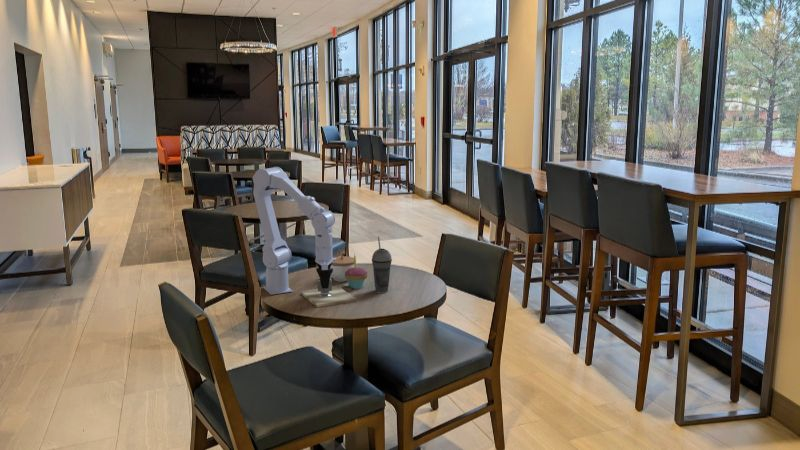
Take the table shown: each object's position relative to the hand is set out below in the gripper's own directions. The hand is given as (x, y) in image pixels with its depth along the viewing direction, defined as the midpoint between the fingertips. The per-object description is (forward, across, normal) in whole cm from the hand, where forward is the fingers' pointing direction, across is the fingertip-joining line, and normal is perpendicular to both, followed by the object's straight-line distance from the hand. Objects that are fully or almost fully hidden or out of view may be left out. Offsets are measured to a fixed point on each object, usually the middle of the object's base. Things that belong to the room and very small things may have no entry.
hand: (324, 284), depth 203 cm
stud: (+5, 0, 0) cm, 5 cm away
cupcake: (+5, +12, -12) cm, 17 cm away
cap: (+2, 0, 0) cm, 2 cm away
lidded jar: (+5, +22, -7) cm, 23 cm away
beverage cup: (+5, +5, -20) cm, 22 cm away
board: (+5, 0, -1) cm, 5 cm away
